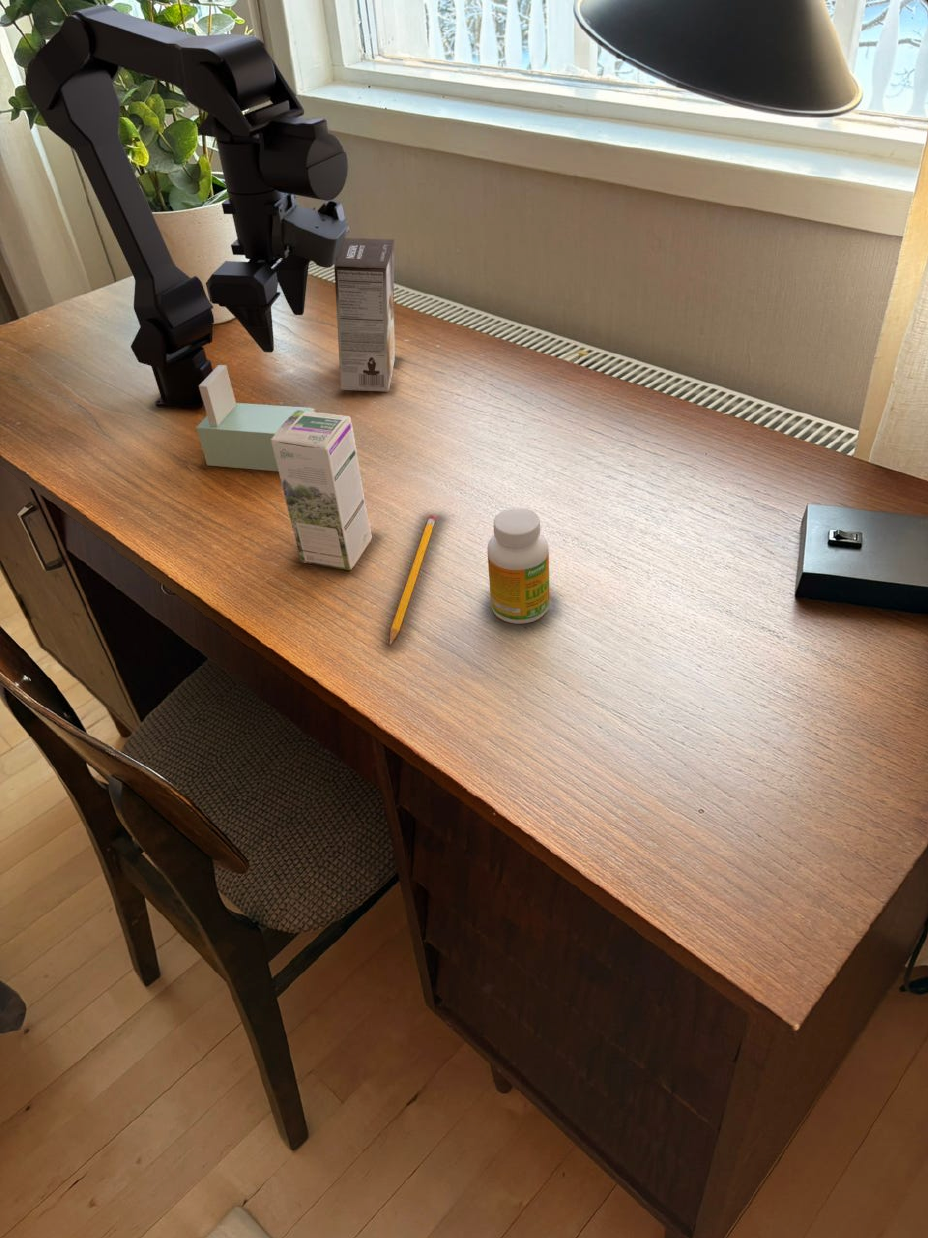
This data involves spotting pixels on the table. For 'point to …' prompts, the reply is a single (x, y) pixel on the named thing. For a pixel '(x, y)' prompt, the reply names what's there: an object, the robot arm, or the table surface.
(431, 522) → the pencil
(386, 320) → the coffee box
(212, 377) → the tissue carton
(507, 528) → the supplement bottle
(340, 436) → the syrup box
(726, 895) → the table surface
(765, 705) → the table surface
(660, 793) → the table surface
